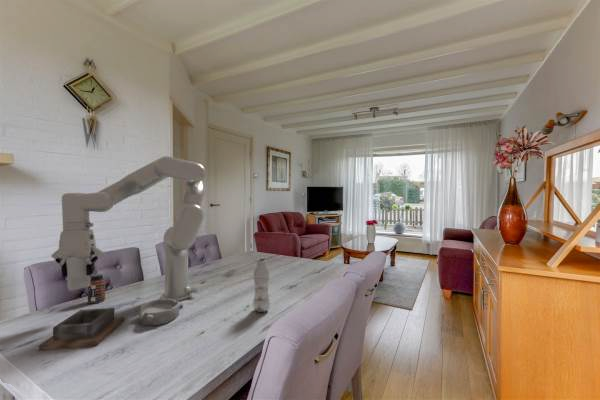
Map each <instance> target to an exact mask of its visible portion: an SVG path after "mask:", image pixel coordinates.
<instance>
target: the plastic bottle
mask: <svg viewBox="0 0 600 400" xmlns="http://www.w3.org/2000/svg"><path fill="white" fill-rule="evenodd" d="M269 280H270V270H269V268H268V267H267V259H266V258H258V259H256V267H255V269H254V270H253V281H254V298H253V304H252V306H253V310H254V311H255V312H257V313H264V312H267V311H268V310H269V309H270V304H271V301H270V297H269V283H270V281H269Z"/></svg>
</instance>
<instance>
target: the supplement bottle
mask: <svg viewBox="0 0 600 400" xmlns="http://www.w3.org/2000/svg"><path fill="white" fill-rule="evenodd" d="M103 300H104V301H105V300H106V279H105V278H104V275H103V273H95V274H94V273H93V274H91V275H90V286H89V287H87V303H88V302H89V303H88V304H92V303H93V304H97V303H96V302H99V303H101V302H100V301H102V302H104V301H103Z"/></svg>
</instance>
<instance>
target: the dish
mask: <svg viewBox="0 0 600 400" xmlns="http://www.w3.org/2000/svg"><path fill="white" fill-rule="evenodd" d="M183 307H184V303H183V302H181V303H180V301H175V300H173V299H161V298H158V299H154V300H153V299H152V300H150V301H147V302H145V303H142V305H140V307H139V314H138V315H139V316H138V317H139V321H140V323H141V324H143V325H144V326H161V325H164V324H167V323H169V322H171V321H174V320H175V319H177V317H178V316H179V315H180V310H182V309H183Z"/></svg>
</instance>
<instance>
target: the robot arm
mask: <svg viewBox="0 0 600 400" xmlns="http://www.w3.org/2000/svg"><path fill="white" fill-rule="evenodd" d="M206 174H207V173H206V169H205V167H204V166H203V165H202V164H200V163H197V162H194V161H190V160H186V159H183V158H182V159H181V158H177V157H174V156H162V157H160V158H158V159H156V160H154V161H151V162H150V163H148V164H146V165H144V166H142V167H140V168H139V169H137V170H135V171H133V172H131V173H128V174H127V175H125V176H124V177H123V178H121V179H119V180H118V181H116V182H114V183H112V184H111V185H109V186H107V187H105V188H103V189H101V190H99V191H97V192H89V193H85V192H67V193H64V194H63V195H61V216H62V231H60V236H59V240H58V249H57V250H56V251H54V252H53V253H52V254H51V255H50V256H51V258H53V260H55V262H56V263H58V265H59V266H60V268H61V275H62V278H65V277H67V267H66V259H67V257H77V258H85V260H86V261H87V263H88V264H87V265H86V272H87V275H90V276H91V275H94V272H95V263H96V262H97V260H99V259H100V257H102V254H104V252H103V251H102V250H101V249H100V248H98V247H97V243H96V242H97V241H96V238H95V234H94V230H93V229H92V227H93V226H94V223H93V222H91V221H90V212H95V213H96V212H97V213H105V212H109V211H110V210H111V209H113V207H114V206H116V205H117V204H119V203H120V202H123V201H124V200H126V199H128V198H131V197H132V196H135V195H138V194H141V193H143V192H145V191H147V190H148V189H150V188H152V187H154V186H156V185H157V184H159V183H160V182H161V183H162V182H163V181H165V180H167V178H172V179H177V180H181V181H182V182H183V184H184V191H183V195H182V198H181V200H180V203H179V204H178V206H177V208H176V211H175V216H174V217H175V219H176V221H177V223H176V225H172V226H170V227H168V228H167V229H166V231H165V232H164V234H163V240H162V241H163V248H164V251H163V252H164V293H162V294H161V295H160V299H173V300H175V301H178V302H180V301H184V300H187V299H189V298H191V296H192V294H193V293H199V288H198V287H197V286H193V287H192V286H191V284H190V283H189V249H190V248H191V247H192V246H193V245H194V243H195V240H196V239H197V236H198V233H199V231H200V229H201V226H202V223H203V221H204V215H205V214H204V210H203V208H202V207H201V205H202V202H203V198H204V197H205V186H204V185H205V184H204V182H203V180H204V179H205V177H206Z"/></svg>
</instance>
